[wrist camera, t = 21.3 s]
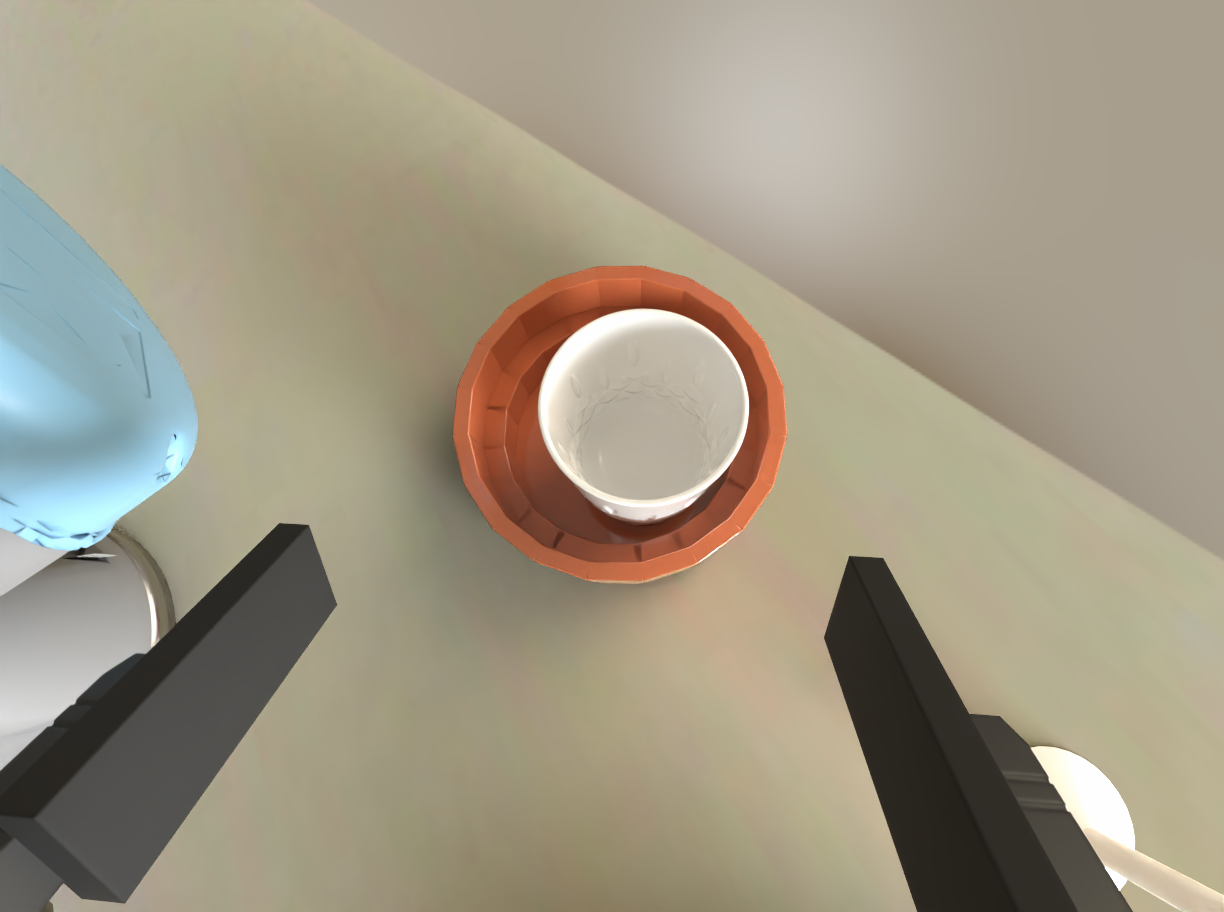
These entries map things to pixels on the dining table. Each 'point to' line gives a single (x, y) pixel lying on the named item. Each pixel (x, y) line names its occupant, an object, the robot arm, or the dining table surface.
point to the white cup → (643, 412)
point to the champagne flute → (1118, 833)
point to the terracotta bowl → (537, 488)
